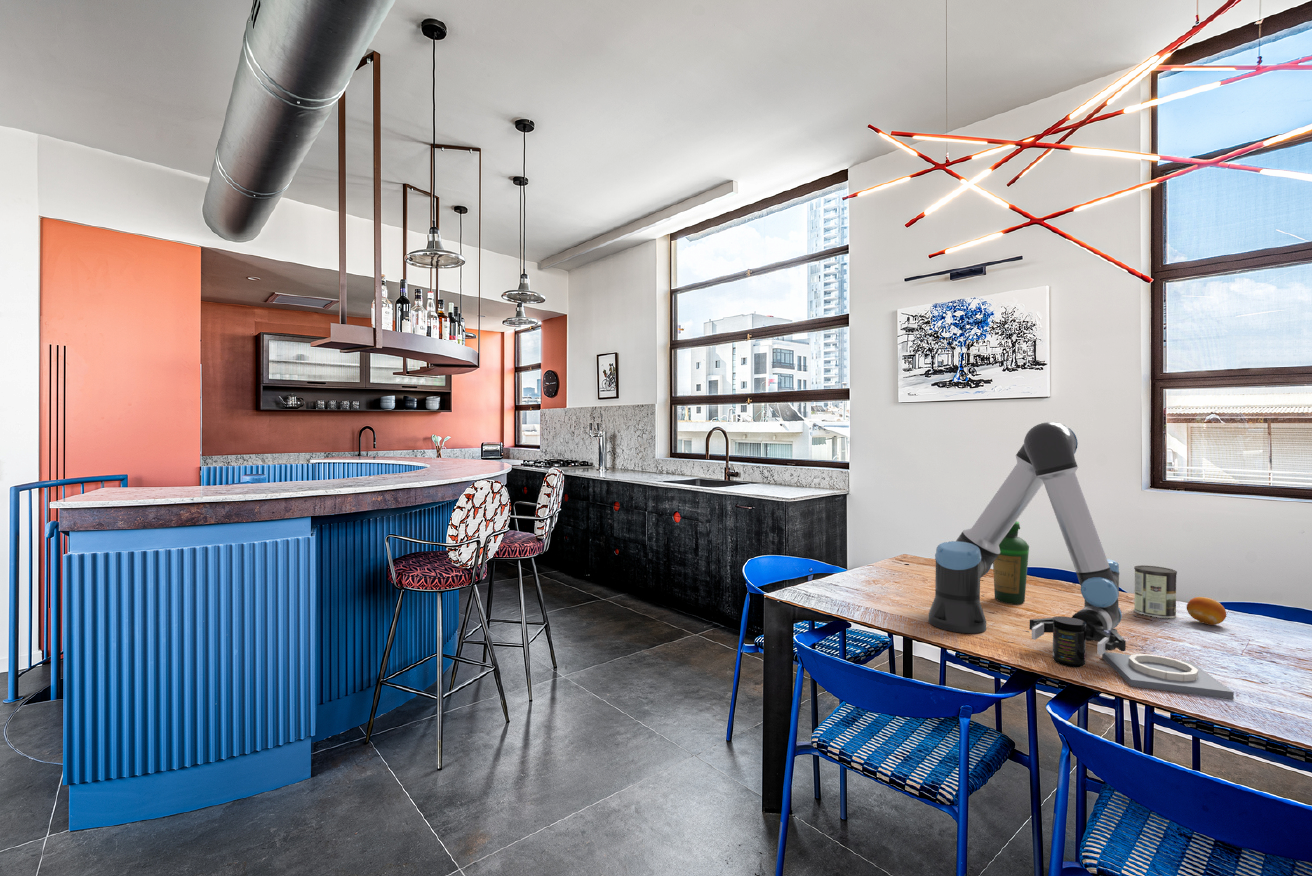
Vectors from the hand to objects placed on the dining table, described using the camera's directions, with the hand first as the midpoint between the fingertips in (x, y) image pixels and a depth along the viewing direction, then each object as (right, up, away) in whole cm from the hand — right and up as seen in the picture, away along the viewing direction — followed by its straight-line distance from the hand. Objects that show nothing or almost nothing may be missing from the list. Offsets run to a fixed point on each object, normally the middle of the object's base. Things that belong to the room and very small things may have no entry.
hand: (1065, 641), depth 145 cm
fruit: (+64, -6, +33) cm, 73 cm away
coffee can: (+57, -6, +43) cm, 72 cm away
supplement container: (+2, -6, +2) cm, 7 cm away
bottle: (+19, -6, +56) cm, 59 cm away
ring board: (+19, -6, -6) cm, 20 cm away
